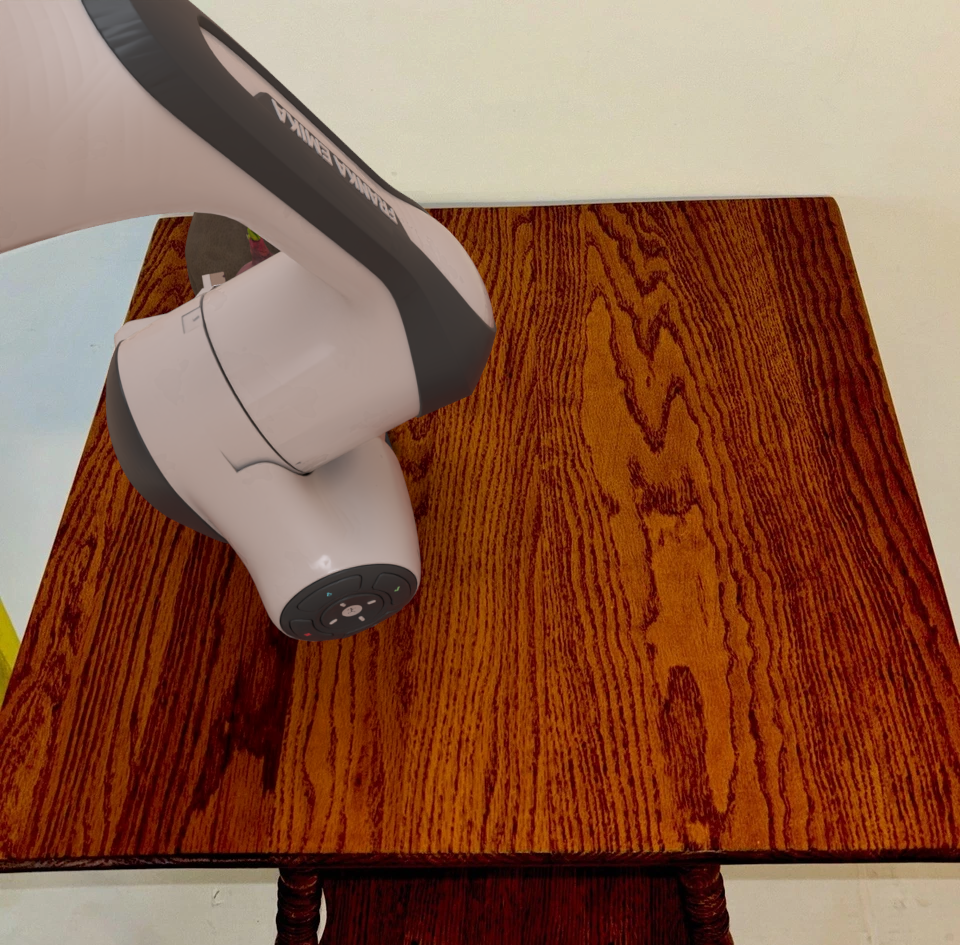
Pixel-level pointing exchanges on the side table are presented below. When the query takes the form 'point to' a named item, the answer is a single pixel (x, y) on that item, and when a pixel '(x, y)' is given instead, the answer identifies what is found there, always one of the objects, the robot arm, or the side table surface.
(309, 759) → the side table surface
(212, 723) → the side table surface
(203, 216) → the coconut
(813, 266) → the side table surface
